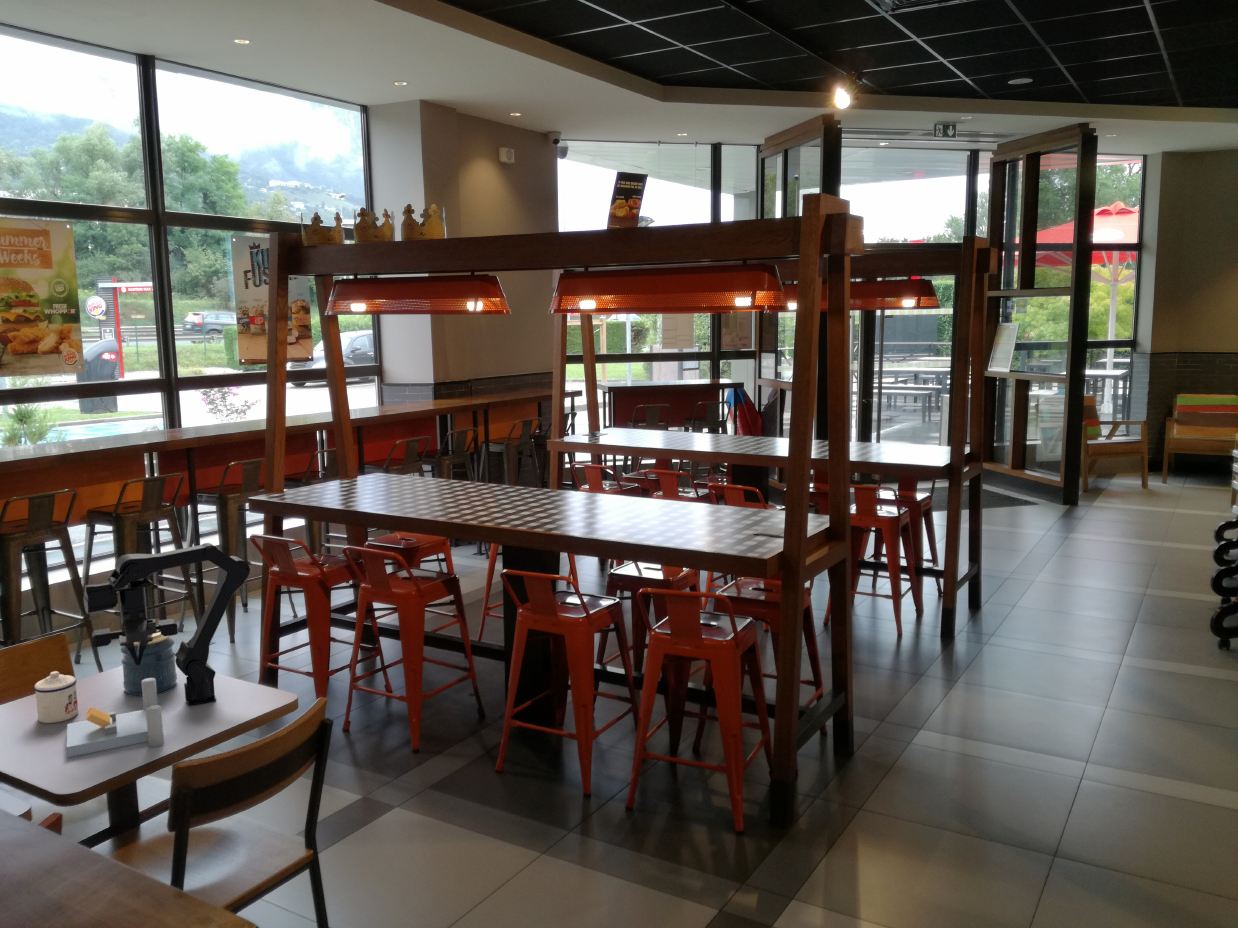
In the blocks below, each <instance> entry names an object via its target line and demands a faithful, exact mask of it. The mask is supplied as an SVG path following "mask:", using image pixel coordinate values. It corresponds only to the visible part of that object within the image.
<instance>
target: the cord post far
mask: <svg viewBox="0 0 1238 928" xmlns="http://www.w3.org/2000/svg"><path fill="white" fill-rule="evenodd" d="M141 682H142V694H143V695H142V706H143V710H145V709H146V708H147V707H149V706H152V705H159V704H158V703H159V702H158V693H157V690H156V679H155V678H147V679H144V680H142V681H141Z"/></svg>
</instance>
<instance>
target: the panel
mask: <svg viewBox="0 0 1238 928" xmlns="http://www.w3.org/2000/svg"><path fill="white" fill-rule="evenodd" d="M105 713H106V714H108V715H110V724H109V725H107V726H105V728H103V727H101V726H99V725H96V724H94V723H92V722H90V721H88V720H87V719H86V720H81V721H75V722H70V723H67V725H66V726H67V727H66V731H67V732H66V757H67V758H72V757H76V756H82V755H86V754H91V753H96V752H101V751H106V750H111V749H116V748H121V747H126V746H131V745H136V744H141V743H145V742H146V743H147V742H148V732H147V720H146V709H145V710H144V709H139V710H134V711H130V712H124V713H119V714H116V711H110V712H105Z"/></svg>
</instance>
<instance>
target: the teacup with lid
mask: <svg viewBox="0 0 1238 928" xmlns="http://www.w3.org/2000/svg"><path fill="white" fill-rule="evenodd" d="M76 685H77V679H76V677H74V676H73V675H69V674H67V675H66V674H65V675H64V674H63V673H61V674H60V672H59V671H56V670H54V671H51V672H50V673H49V675H48V676H47V677H45V678H43V679H41V680H39V681H37V682H36V683H35V685H34V687H33V689H34V691H35V699H36V710H37V719H38V721H39V722H40V723H44V724H57V723H60V722H65V721H68V720H70V719H73V718H74V717H76V716H77V714H78V713H79V706H78V705H79V704H78V694H77V686H76Z"/></svg>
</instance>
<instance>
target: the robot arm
mask: <svg viewBox="0 0 1238 928" xmlns="http://www.w3.org/2000/svg"><path fill="white" fill-rule="evenodd" d="M206 561H209V562H211V563H212V564H214V565H215V566H217V567H219V569H218V573H217V579H216V587H215V590H214V592H213V593H212V596H211V598H210V600H209V602H208V603H207V606H206V609H205V610H204V612H203V615H202V617H201V619H200V620H199V623H198V626H197V628H195V629H196V630H195V632H194V634H193V636H192V637H191V638H190V639H189V640H188V641H187V642H186V641H182V640H181V643H180V645H179V648H178V650H177V651H176V652H175V666H176V667H177V668H178V669H179V670H180V671H181V673H182V674H183V675H185V676H186V678H185V681H186V682H185V683H184V684H183V685H184V698H185V702H188V706H195V705H200V704H201V705H202V704H204V703H210V702H215V700H216V701H217V698H216V694H215V682H214V681H215V680H214V678H215V676H216V671H215V670H214V668H212V667H211V666H210V665H209V663H208V659H209V655H210V653H209V652H210V645H211V642H212V640H213V638H214V635H215V633H216V632H217V629H218V628H219V625H220V623H221V621H222V619H223V616H224V614H225V612H226V610H227V608H228V606H229V604H230V602H231V600H232V597H233V596H234V594H235V593H236V592H237V591H238V590H239V589H240V588H242V586H243V585H244V583H245V582H246V580H247V579H248V577H249V575H250V574H251V567H250V565H249V563H248V562H246V560H243V559H241V558H240V557H238V556H235V555H230V556H229V555H227V553H225V552H223V551H221V550H220V549H218V547H217V546H215V545H214V544H212V543H211V542H204V543H202V544H199V545H194V546H189V547H184V548H180V549H179V548H178V549H174V550H168V551H163V552H158V553H125V554H123V555H121V556H120V557H118V558H117V560H116V562H115V563H114V569H113V571H112V573H110V575H109V577H108V578H107V580H106V582H103V583H97V584H86V585H84V592H83V605H84V610H85V613H86V614H93V613H99V612H105V611H111V610H114V608H115V607H117V605H119V606H120V607H119V608H120V609H119V610H120V611H119V612H120V619H121V621H120V622H121V630H116V631H115V630H114V631H111V628H110V627H106V628H100V629H94V630H93V631H92V633H91V636H92V637H91V638H92V639H91V640H92V648H100V647H106V646H109V645H110V644H111V643H112V640H118V642H119V645H120V647H122V646H125V647H126V648H127V649H128V650H129V652H130V653H131V655H132V658H133V660H134V662H135V664H136V666H139V665H140V664H141V660H142V657H143V653H144V650H145V648H146V645H147V644H148V642H151V641H153V637H152V635H153V634H154V633H158V632H161V634H162V635H163V636H170V637H171V636H176V635H178V634H179V630H178V628H179V627H178V624H177V621H176V619H174V618H168V619H160V620H158V621H157V622H158V623H156V618H151V619H148V614H147V612H148V611H147V599H146V588H147V587H152V586H154V582H153V581H151V580H150V579H148V577H150V576H151V575H153V574H155V573H157V572H160V571H162V570H163V571H164V570H167V569H173V568H178V567H182V566H186V565H192V564H197V563H201V562H202V563H203V562H206ZM118 597H119V598H118ZM118 603H119V604H118ZM134 642H138V657H137V655H136V651H135V647H134Z"/></svg>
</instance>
